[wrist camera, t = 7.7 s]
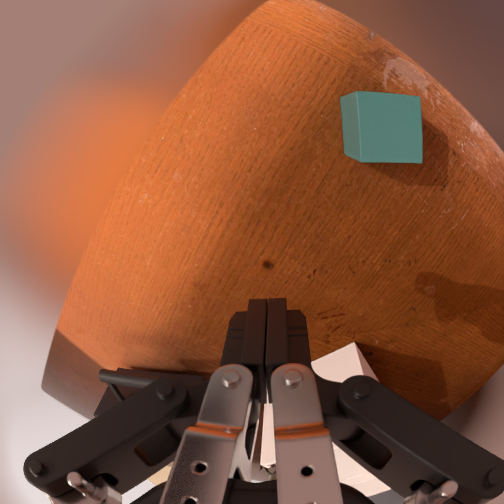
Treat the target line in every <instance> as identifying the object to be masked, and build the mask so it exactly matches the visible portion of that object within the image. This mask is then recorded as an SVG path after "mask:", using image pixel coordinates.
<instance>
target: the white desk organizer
mask: <svg viewBox="0 0 504 504" xmlns="http://www.w3.org/2000/svg"><path fill="white" fill-rule="evenodd" d="M311 365H312V368H313V370H314V372H315V373H316V374H317V375H319V376H320V377H322V378H324V379H326V380H330V381H335V382H341V383H342V382H343V381H344V380H346V379H347V378H349V377H351V376H355V375H366V376H369V377H372V378H374V379H375V380H377V381H378V379H377V377H376V376H375V374H374V372H373V371H372V369H371V368H370V366H369V364H368V363H367V361H366V360H365V358H364V356H363V355H362V353H361V352H360V350H359V348H358V347H357V345H356V344H355V342H353V343H351V344H349V345H347V346H345V347H343V348H341V349H339V350H337V351H335V352H332V353H330V354H328V355H326V356H324V357H322V358H319V359H317V360H315V361H312V362H311ZM378 382H379V381H378ZM332 444H333V449H334V454H335V460H336V465H337V471H338V476H339V482H341V483H344V484H347V485H349V486H351V487H354V488H355V489H357V490H358V491H360V492H361V493H363V494H364V495H365V496H366V497H368V496H371V495H374V494H377V493H381V492H384V491H387V490H390V489H391V488H390V487H388V486H387V485H385V484H384V483H383V482H381V481H380V480H379V479H377V478H376V477H375V476H373V475H372V474H371V473H370V472H368V471H367V470H366V469H364V468H363V467H362V466H361V465H359V464H358V463H357V462H356V461H354V460H353V459H352V458H351V457H349V456H348V455H347V454H346V453H345V452H343V451H342V450H341V449H340V448H339V447H337V446H336V445H335V444H334V443H333V442H332ZM271 464H276V458H275V440H274V423H273V407H272V404H269V401H268V390H267V404H264V418H263V433H262V448H261V461H260V465H262V466H264V467H266V468H270V465H271Z"/></svg>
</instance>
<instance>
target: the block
mask: <svg viewBox="0 0 504 504" xmlns="http://www.w3.org/2000/svg"><path fill="white" fill-rule="evenodd" d="M340 103H341V114H342V127H343V142H344V154H345V155H347V156H349V157H351V158H353V159H355V160H357V161H359V162H383V163H421V164H422V163H423V143H422V116H421V102H420V97H419V96H411V95H403V94H393V93H381V92H366V91H356V92H353V93H350V94H347V95H345V96H342V97H340Z"/></svg>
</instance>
